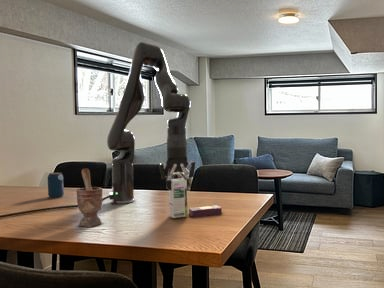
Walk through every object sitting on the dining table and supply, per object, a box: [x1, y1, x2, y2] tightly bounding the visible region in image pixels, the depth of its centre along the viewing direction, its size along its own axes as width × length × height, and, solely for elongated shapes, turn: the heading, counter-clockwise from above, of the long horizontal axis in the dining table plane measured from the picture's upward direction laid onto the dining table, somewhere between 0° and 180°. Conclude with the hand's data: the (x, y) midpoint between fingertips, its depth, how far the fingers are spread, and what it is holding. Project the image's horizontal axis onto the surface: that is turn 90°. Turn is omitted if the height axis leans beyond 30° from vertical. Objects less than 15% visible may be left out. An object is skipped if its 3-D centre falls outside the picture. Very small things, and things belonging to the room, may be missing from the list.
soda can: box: [47, 171, 65, 199], centre depth 192 cm, size 7×7×12 cm
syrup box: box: [168, 177, 188, 219], centre depth 149 cm, size 6×6×14 cm
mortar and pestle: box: [76, 167, 103, 228], centre depth 140 cm, size 12×9×20 cm
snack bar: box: [188, 205, 222, 218], centre depth 154 cm, size 12×5×3 cm, turn 115°
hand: (177, 189), depth 149 cm, fingers closed on syrup box, 5 cm apart
